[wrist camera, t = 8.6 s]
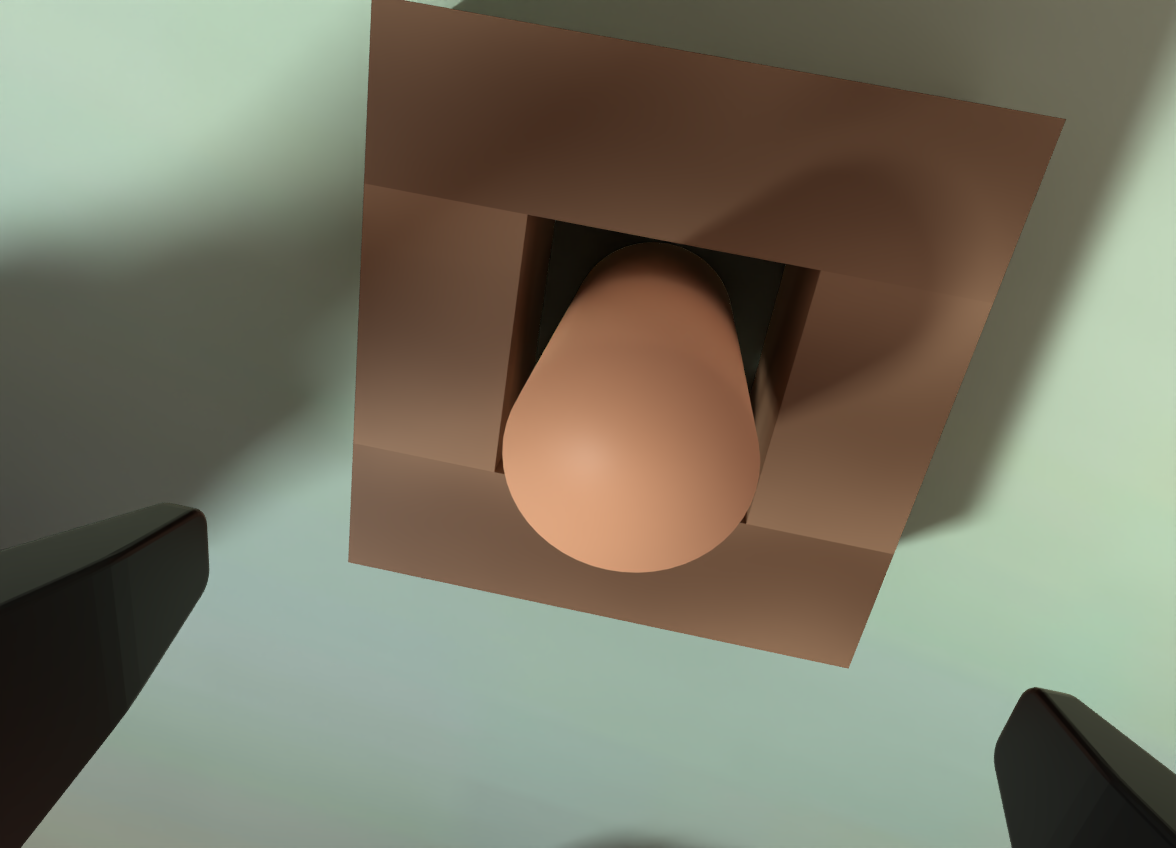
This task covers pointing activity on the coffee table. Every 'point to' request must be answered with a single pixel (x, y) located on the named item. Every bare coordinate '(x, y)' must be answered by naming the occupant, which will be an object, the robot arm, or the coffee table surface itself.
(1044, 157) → the hole block
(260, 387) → the coffee table surface
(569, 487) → the peg
